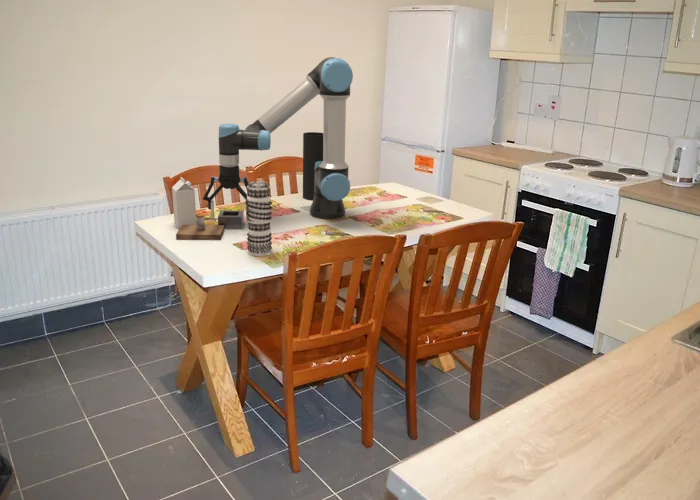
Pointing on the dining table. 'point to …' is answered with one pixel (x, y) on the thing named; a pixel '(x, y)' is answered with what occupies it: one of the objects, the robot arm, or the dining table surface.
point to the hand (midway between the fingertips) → (230, 217)
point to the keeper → (200, 230)
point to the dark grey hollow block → (231, 219)
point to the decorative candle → (258, 218)
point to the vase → (311, 161)
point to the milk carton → (184, 203)
